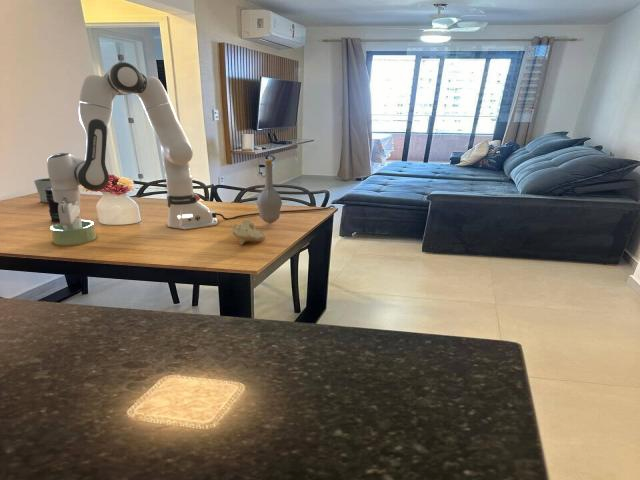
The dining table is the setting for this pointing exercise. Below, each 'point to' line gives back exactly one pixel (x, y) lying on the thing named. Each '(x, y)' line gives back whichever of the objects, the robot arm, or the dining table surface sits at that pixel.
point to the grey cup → (43, 188)
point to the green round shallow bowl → (73, 234)
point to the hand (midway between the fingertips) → (73, 230)
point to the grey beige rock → (247, 232)
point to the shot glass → (75, 224)
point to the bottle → (269, 198)
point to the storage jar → (52, 205)
